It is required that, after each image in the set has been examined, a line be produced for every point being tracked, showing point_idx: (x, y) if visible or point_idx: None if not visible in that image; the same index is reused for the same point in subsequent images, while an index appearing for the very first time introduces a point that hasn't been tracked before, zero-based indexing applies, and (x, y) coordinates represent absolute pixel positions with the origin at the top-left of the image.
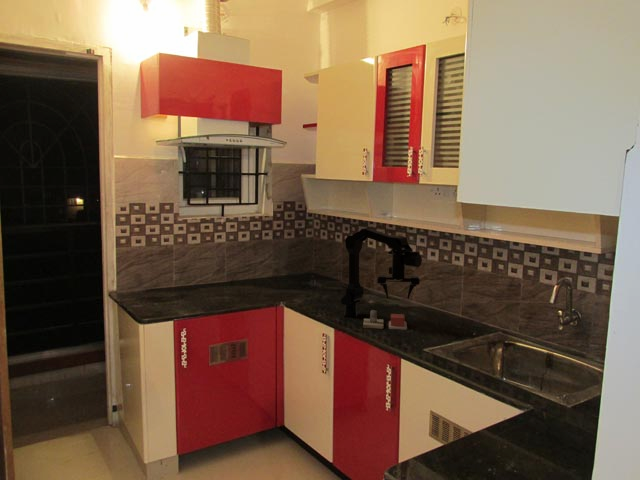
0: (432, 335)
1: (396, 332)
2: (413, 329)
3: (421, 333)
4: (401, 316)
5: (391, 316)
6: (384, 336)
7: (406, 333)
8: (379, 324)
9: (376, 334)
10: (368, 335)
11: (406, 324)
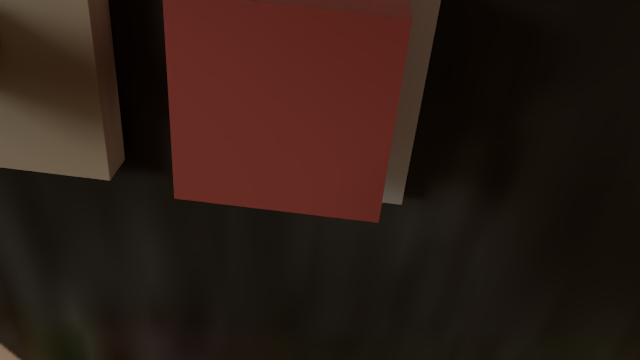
0: (628, 337)
1: (273, 254)
2: (489, 163)
3: (536, 285)
4: (341, 152)
5: (178, 153)
6: (159, 344)
7: (374, 282)
8: (57, 143)
9: (81, 300)
10: (16, 320)
11: (427, 67)
